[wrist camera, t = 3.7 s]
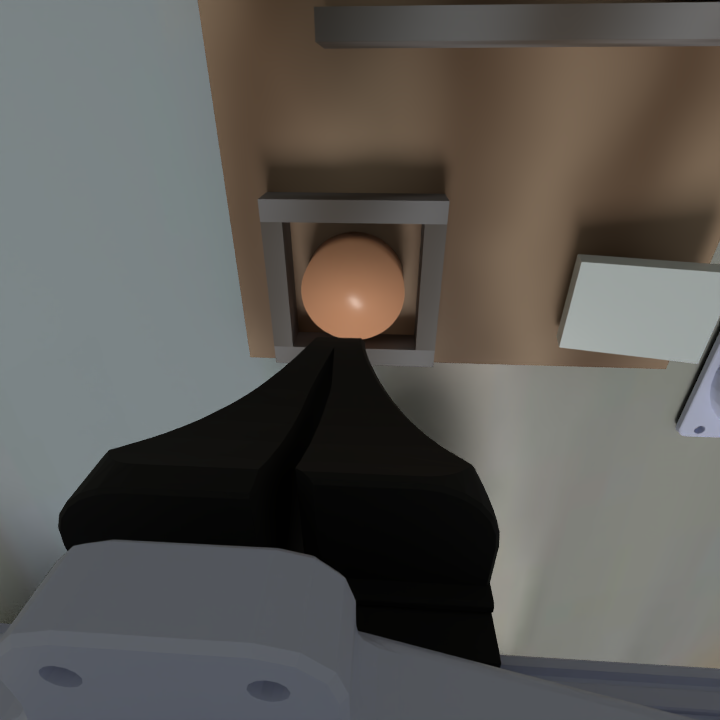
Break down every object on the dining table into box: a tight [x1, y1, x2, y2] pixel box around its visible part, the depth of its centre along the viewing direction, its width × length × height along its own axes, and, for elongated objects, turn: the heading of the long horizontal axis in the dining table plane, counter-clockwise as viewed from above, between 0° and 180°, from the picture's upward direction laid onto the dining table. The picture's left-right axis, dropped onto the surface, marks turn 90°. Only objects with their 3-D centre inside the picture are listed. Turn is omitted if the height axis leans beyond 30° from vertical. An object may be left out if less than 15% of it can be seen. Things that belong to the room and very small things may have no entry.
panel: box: [198, 0, 720, 369], centre depth 15 cm, size 19×20×4 cm
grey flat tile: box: [556, 254, 720, 364], centre depth 17 cm, size 5×4×1 cm
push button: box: [301, 232, 405, 339], centre depth 18 cm, size 4×4×2 cm
